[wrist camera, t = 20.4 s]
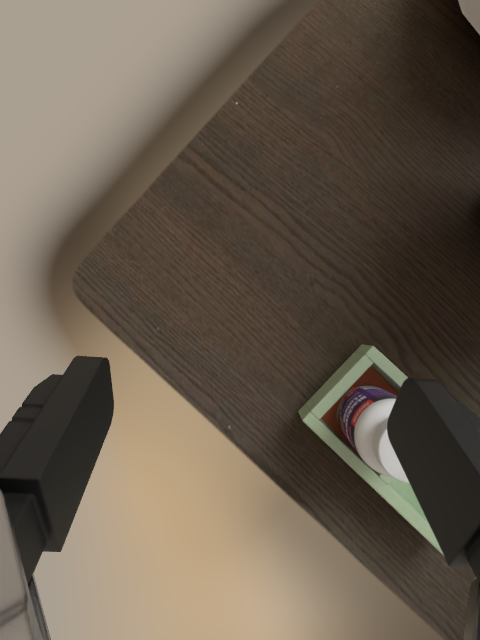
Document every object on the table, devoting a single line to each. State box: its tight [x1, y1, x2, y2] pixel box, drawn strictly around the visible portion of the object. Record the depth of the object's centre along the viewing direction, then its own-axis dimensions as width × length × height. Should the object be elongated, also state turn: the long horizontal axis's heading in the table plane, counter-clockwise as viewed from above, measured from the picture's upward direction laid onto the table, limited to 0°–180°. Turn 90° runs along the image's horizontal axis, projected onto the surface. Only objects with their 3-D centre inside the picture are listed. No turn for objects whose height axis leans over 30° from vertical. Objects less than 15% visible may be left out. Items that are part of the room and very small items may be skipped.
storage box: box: [298, 344, 445, 557], centre depth 31 cm, size 8×16×3 cm, turn 47°
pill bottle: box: [337, 385, 409, 483], centre depth 27 cm, size 5×5×10 cm
